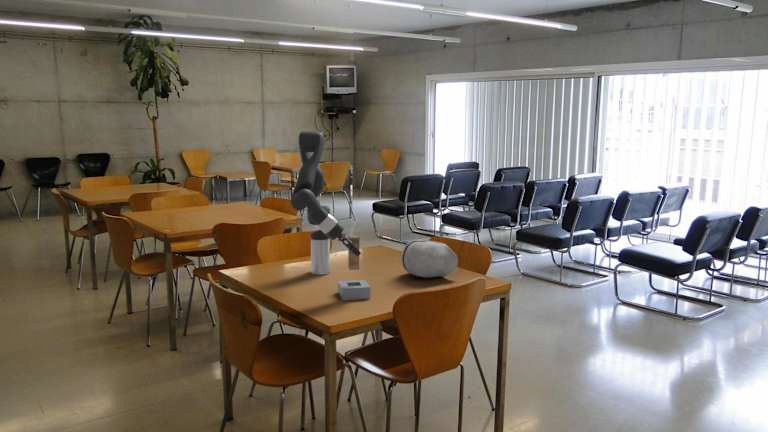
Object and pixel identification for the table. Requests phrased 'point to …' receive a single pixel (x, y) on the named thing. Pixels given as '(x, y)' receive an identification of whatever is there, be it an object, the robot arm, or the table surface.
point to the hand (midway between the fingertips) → (358, 253)
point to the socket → (353, 289)
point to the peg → (352, 258)
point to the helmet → (429, 259)
